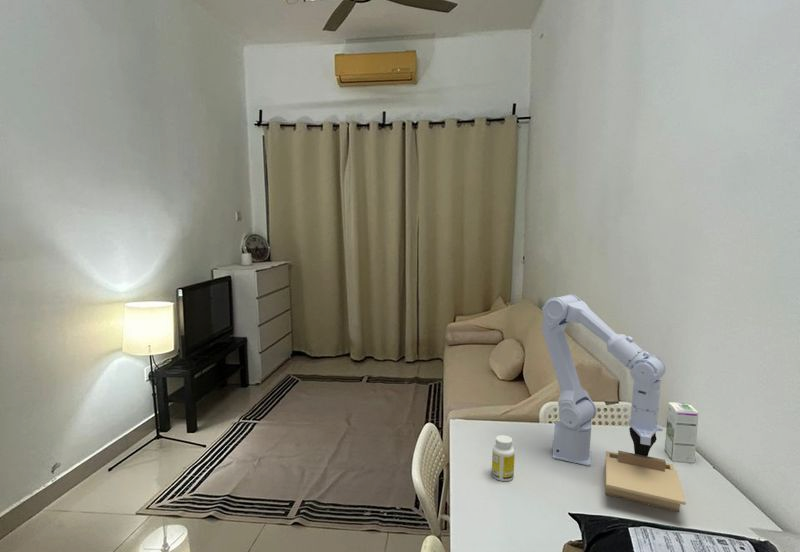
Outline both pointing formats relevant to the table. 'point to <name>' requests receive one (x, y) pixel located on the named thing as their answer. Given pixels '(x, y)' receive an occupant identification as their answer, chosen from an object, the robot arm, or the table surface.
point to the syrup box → (681, 432)
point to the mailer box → (638, 497)
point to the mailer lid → (643, 477)
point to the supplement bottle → (503, 459)
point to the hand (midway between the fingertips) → (640, 459)
